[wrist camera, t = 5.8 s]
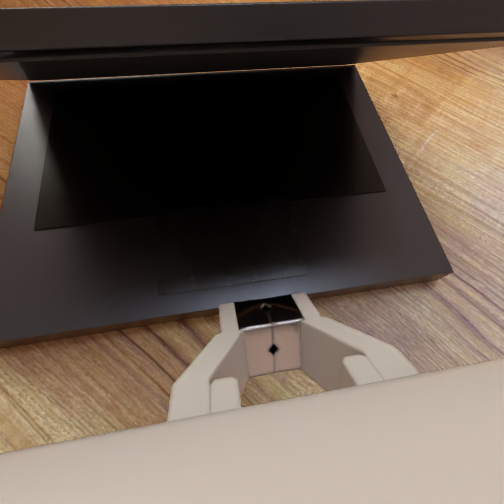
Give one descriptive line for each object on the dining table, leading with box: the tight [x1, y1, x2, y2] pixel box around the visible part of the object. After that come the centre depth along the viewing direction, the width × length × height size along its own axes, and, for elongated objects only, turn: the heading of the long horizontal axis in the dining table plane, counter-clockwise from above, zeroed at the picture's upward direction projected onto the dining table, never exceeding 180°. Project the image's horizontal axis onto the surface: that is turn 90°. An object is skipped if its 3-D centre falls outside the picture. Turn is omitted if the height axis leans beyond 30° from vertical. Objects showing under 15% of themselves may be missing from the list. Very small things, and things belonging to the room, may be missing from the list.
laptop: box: [0, 65, 453, 348], centre depth 22 cm, size 22×30×2 cm
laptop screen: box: [0, 0, 504, 80], centre depth 16 cm, size 22×30×1 cm
